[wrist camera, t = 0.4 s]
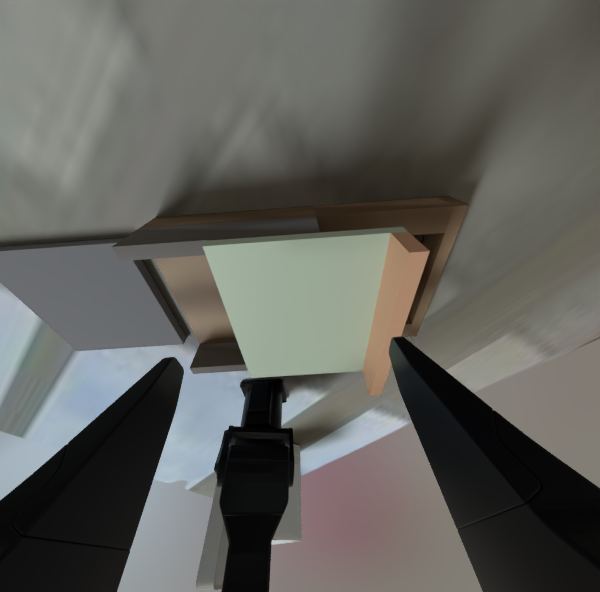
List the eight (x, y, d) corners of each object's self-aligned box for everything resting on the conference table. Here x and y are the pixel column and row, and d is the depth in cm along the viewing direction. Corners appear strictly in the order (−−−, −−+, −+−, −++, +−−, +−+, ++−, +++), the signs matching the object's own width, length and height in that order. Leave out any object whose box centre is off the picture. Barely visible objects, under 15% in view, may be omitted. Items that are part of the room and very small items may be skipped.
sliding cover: (370, 363, 22) (381, 395, 19) (251, 370, 22) (246, 403, 19) (402, 226, 13) (430, 251, 11) (206, 240, 13) (186, 268, 11)
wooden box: (406, 320, 26) (429, 358, 22) (209, 333, 26) (193, 373, 22) (448, 196, 17) (501, 219, 13) (155, 217, 18) (111, 246, 13)
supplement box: (270, 435, 47) (264, 540, 35) (300, 444, 51) (303, 541, 39) (246, 447, 50) (232, 545, 39) (275, 455, 54) (271, 546, 43)
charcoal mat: (186, 337, 27) (183, 344, 26) (83, 344, 27) (76, 351, 26) (129, 237, 19) (122, 242, 18) (-18, 248, 19) (-31, 253, 18)
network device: (263, 488, 75) (255, 584, 59) (238, 489, 75) (224, 586, 59) (241, 466, 59) (222, 589, 43) (210, 468, 59) (180, 591, 44)
